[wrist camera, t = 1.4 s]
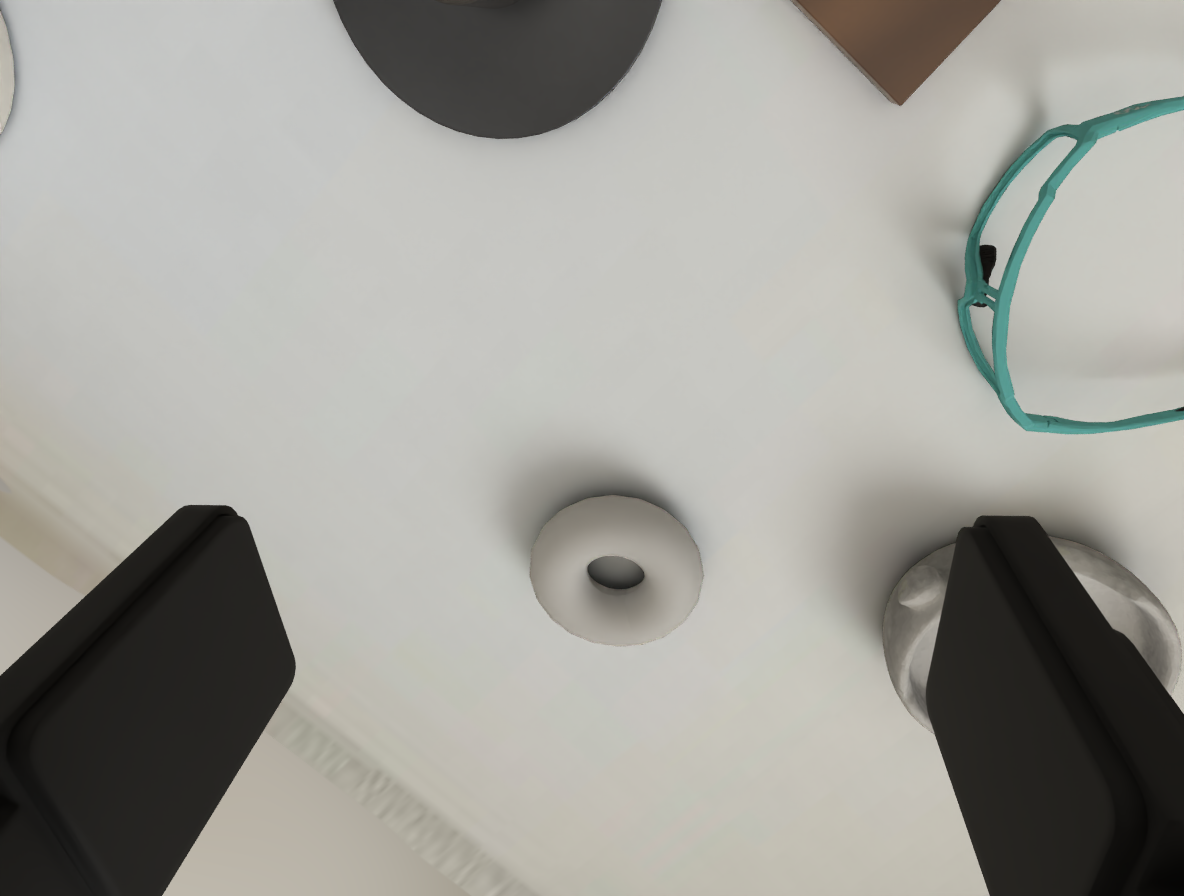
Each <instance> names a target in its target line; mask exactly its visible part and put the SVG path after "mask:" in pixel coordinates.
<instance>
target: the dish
mask: <svg viewBox="0 0 1184 896" xmlns="http://www.w3.org/2000/svg"><path fill="white" fill-rule="evenodd" d="M1048 537H1049V538H1050V539H1051V541H1052V542H1053V544H1054V545H1055V547H1056V548H1057V549H1058V551H1059V552H1060V554H1061V555H1062V557H1063V558H1064V559H1065V561H1066V562H1067V564H1068V565H1069V567H1070V568H1071V569H1072V571H1073V572H1074V574H1075V575H1076V577H1077V578H1078V579H1079V581H1080V582H1081V584H1082V585H1083V587H1084V588H1085V590H1086V591H1087V592H1088V594H1089V595H1090V597H1091V598H1092V600H1093V601H1094V602H1095V604H1096V605H1097V607H1098V608H1099V610H1100V611H1101V612H1102V614H1103V615H1104V617H1105V618H1106V620H1107V621H1108V622H1109V624H1110V625H1111V627H1112V628H1113V629H1115V630H1117V631H1119V632H1121V633H1123V634H1125V636H1126V637H1127V638H1128V639H1129V640H1130V641H1131V642H1132V643H1133V644H1134V645H1135V647H1136V648H1137V650H1138V651H1139V652H1140V654H1141V655H1142V657H1143V658H1144V659H1145V661H1146V662H1147V664H1148V665H1149V666H1150V668H1151V669H1152V671H1153V672H1154V673H1155V675H1156V676H1157V678H1158V679H1159V680H1160V682H1161V683H1162V685H1163V686H1164V687H1165V689H1166V690H1167V692H1168V693H1169V694H1170V696H1171V695H1172V693H1173V692H1174V689H1175V687H1176V684H1177V682H1178V678H1179V675H1180V671H1181V661H1182V649H1181V643H1180V638H1179V635H1178V631H1177V629H1176V626H1175V624H1174V622H1173V621H1172V619H1171V617H1170V615H1169V614H1168V612H1167V610H1166V609H1165V608H1164V606H1163V605H1162V604H1161V602H1160V601H1159V599H1158V598H1157V597H1156V596H1155V595H1154V594H1153V593H1152V592H1151V591H1150V590H1149V589H1148V587H1147V586H1145V585H1144V584H1143V583H1142V582H1141V581H1140V580H1139V579H1138V578H1137V577H1136V576H1135V575H1133V574H1132V573H1131V572H1130V571H1128V570H1127V569H1125V568H1124V567H1123V566H1121V565H1120V564H1118V563H1117V562H1115V561H1114V560H1113V559H1111V558H1109V557H1108V556H1106V555H1104V554H1102V553H1100V552H1098V551H1096V550H1094V549H1092V548H1090V547H1087V546H1085V545H1082V544H1079V543H1076V542H1073V541H1070V540H1066V539H1061V538H1056V537H1050V536H1048ZM955 545H956V543H954V544H951V545H948V546H945V547H943V548H941V549H938V550H936V551H935V552H933V553H931V554H930V555H928V556H927V557H925V558H923V559H922V560H920V561H919V562H918V563H917V564H915V565H914V566H913V567H912V568H910V569H909V570H908V571H907V572H906V574H905V575H904V576H903V577H902V578H901V579H900V581H899V582H898V584H897V585H896V586H895V588H894V590H893V592H892V594H891V596H890V598H889V601H888V603H887V606H886V610H885V614H884V620H883V647H884V654H885V659H886V664H887V668H888V672H889V675H890V678H891V681H892V683H893V685H894V688H895V690H896V692H897V694H898V696H899V698H900V699H901V701H902V703H903V704H904V706H905V707H906V709H907V710H908V712H909V713H910V714H911V715H912V716H913V717H914V718H915V719H916V720H917V721H918V722H919V723H920V724H921V725H922V726H923V727H925V728H926V729H928V730H929V731H930V732H932V733H933V734H935V733H934V730H933V728H932V725H931V722H930V719H929V715H928V712H927V706H926V684H927V679H928V674H929V669H930V664H931V660H932V655H933V650H934V645H935V641H936V636H937V631H938V626H939V622H940V617H941V612H942V607H943V603H944V598H945V593H946V588H947V583H948V579H949V574H950V569H951V564H952V560H953V555H954V550H955Z"/></svg>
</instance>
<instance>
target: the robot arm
mask: <svg viewBox="0 0 1184 896" xmlns="http://www.w3.org/2000/svg"><path fill="white" fill-rule="evenodd" d="M14 88H15V82H14V60H13V54H12V50H11V45H10V40H9V36H8V31H7V27H6V25H5V22H4V19H3V16H2V14H1V11H0V134H1V133H2V132H3V130H4V127H5V125H6V122H7V120H8V117H9V115H10V112H11V108H12V101H13V95H14ZM295 669H296V666H295V658H294V655H293V652H292V649H291V646H290V643H289V640H288V637H287V634H286V631H285V629H284V626H283V623H282V620H281V617H280V614H279V611H278V608H277V605H276V602H275V599H274V597H273V594H272V591H271V588H270V585H269V582H268V579H267V576H266V573H265V570H264V567H263V565H262V562H261V559H260V556H259V553H258V550H257V547H256V544H255V541H254V538H253V535H252V533H251V530H250V527H249V524H248V522H247V521H246V520H245V519H244V518H243V517H240V516H238V515H237V513H236V511H235V510H234V509H233V508H232V507H229V506H226V505H188V506H184V507H182V508H180V509H179V510H178V511H177V512H175V513H174V514H173V515H172V516H171V517H170V518H169V519H168V520H167V521H166V522H165V523H164V524H163V525H161V526H160V527H159V528H158V529H157V530H156V531H155V532H154V533H153V534H152V535H151V536H150V537H149V538H148V539H146V540H145V541H144V542H143V543H142V544H141V545H140V546H139V547H138V548H137V549H136V550H135V551H134V552H133V553H131V554H130V555H129V556H128V557H127V558H126V559H125V560H124V561H123V562H122V563H121V564H120V565H119V566H118V567H116V568H115V569H114V570H113V571H112V572H111V573H110V574H109V575H108V576H107V577H106V578H105V579H104V580H102V581H101V582H100V583H99V584H98V585H97V586H96V587H95V588H94V589H93V590H92V591H91V592H90V593H89V594H87V595H86V596H85V597H84V598H83V599H82V600H81V601H80V602H79V603H78V604H77V605H76V606H75V607H74V608H72V609H71V610H70V611H69V612H68V613H67V614H66V615H65V616H64V617H63V618H62V619H61V620H60V621H59V622H58V623H56V624H55V625H54V626H53V627H52V628H51V629H50V630H49V631H48V632H47V633H46V634H45V635H44V636H43V637H41V638H40V639H39V640H38V641H37V642H36V643H35V644H34V645H33V646H32V647H31V648H30V649H28V650H27V651H26V652H25V653H24V654H23V655H22V656H21V657H20V658H19V659H18V660H17V661H16V662H15V663H14V664H12V665H11V666H10V667H9V668H8V669H7V670H6V671H5V672H4V673H3V674H2V675H1V676H0V896H162V895H163V893H164V891H165V890H166V888H167V887H168V885H169V884H170V882H171V880H172V878H173V877H174V875H175V874H176V872H177V870H178V869H179V867H180V866H181V864H182V862H183V861H184V859H185V857H186V856H187V854H188V852H189V851H190V849H191V848H192V846H193V844H194V843H195V841H196V839H197V838H198V836H199V834H200V833H201V831H202V830H203V828H204V826H205V825H206V823H207V822H208V820H209V818H210V817H211V815H212V813H213V812H214V810H215V808H216V807H217V805H218V804H219V802H220V800H221V799H222V797H223V796H224V794H225V792H226V791H227V789H228V787H229V785H230V784H231V783H232V781H233V779H234V777H235V776H236V774H237V773H238V771H239V769H240V768H241V766H242V765H243V763H244V761H245V760H246V758H247V756H248V755H249V753H250V752H251V749H252V748H253V746H254V745H255V743H256V742H257V740H258V739H259V737H260V735H261V733H262V732H263V730H264V729H265V727H266V725H267V724H268V722H269V721H270V719H271V717H272V716H273V714H274V712H275V711H276V709H277V708H278V706H279V704H280V703H281V701H282V699H283V698H284V696H285V695H286V693H287V691H288V690H289V688H290V686H291V684H292V682H293V679H294V676H295ZM926 706H927V712H928V715H929V719H930V722H931V725H932V728H933V730H934V733H935V736H936V739H937V742H938V745H939V748H940V751H941V754H942V757H943V760H944V763H945V766H946V769H947V771H948V774H949V777H950V780H951V783H952V786H953V789H954V792H955V795H956V798H957V801H958V804H959V807H960V810H961V812H962V815H963V818H964V821H965V824H966V827H967V830H968V833H969V836H970V839H971V842H972V845H973V848H974V851H975V853H976V856H977V859H978V862H979V865H980V868H981V871H982V874H983V877H984V880H985V883H986V886H987V889H988V892H989V894H990V896H1184V714H1183V713H1182V711H1181V710H1180V708H1179V707H1178V706H1177V704H1176V703H1175V701H1174V700H1173V699H1172V697H1171V696H1170V694H1169V693H1168V692H1167V690H1166V689H1165V687H1164V686H1163V685H1162V683H1161V682H1160V680H1159V679H1158V678H1157V676H1156V675H1155V673H1154V672H1153V671H1152V669H1151V668H1150V666H1149V665H1148V664H1147V662H1146V661H1145V659H1144V658H1143V657H1142V655H1141V654H1140V652H1139V651H1138V650H1137V648H1136V647H1135V645H1134V644H1133V643H1132V642H1131V641H1130V640H1129V639H1128V638H1127V637H1126V636H1125V634H1123V633H1121V632H1119V631H1117V630H1115V629H1113V628H1112V627H1111V625H1110V624H1109V622H1108V621H1107V620H1106V618H1105V617H1104V615H1103V614H1102V612H1101V611H1100V610H1099V608H1098V607H1097V605H1096V604H1095V602H1094V601H1093V600H1092V598H1091V597H1090V595H1089V594H1088V592H1087V591H1086V590H1085V588H1084V587H1083V585H1082V584H1081V582H1080V581H1079V579H1078V578H1077V577H1076V575H1075V574H1074V572H1073V571H1072V569H1071V568H1070V567H1069V565H1068V564H1067V562H1066V561H1065V559H1064V558H1063V557H1062V555H1061V554H1060V552H1059V551H1058V549H1057V548H1056V547H1055V545H1054V544H1053V542H1052V541H1051V539H1050V538H1049V537H1048V535H1047V534H1046V532H1045V531H1044V529H1043V528H1042V527H1041V525H1040V524H1039V522H1038V521H1037V520H1036V519H1035V518H1033V517H1030V516H980V517H978V518H977V520H976V521H975V523H974V526H973V527H963V528H961V530H960V531H959V533H958V537H957V541H956V545H955V550H954V555H953V560H952V564H951V569H950V574H949V579H948V583H947V588H946V593H945V598H944V603H943V607H942V612H941V617H940V622H939V626H938V631H937V636H936V641H935V645H934V650H933V655H932V660H931V664H930V669H929V674H928V679H927V684H926Z"/></svg>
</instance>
